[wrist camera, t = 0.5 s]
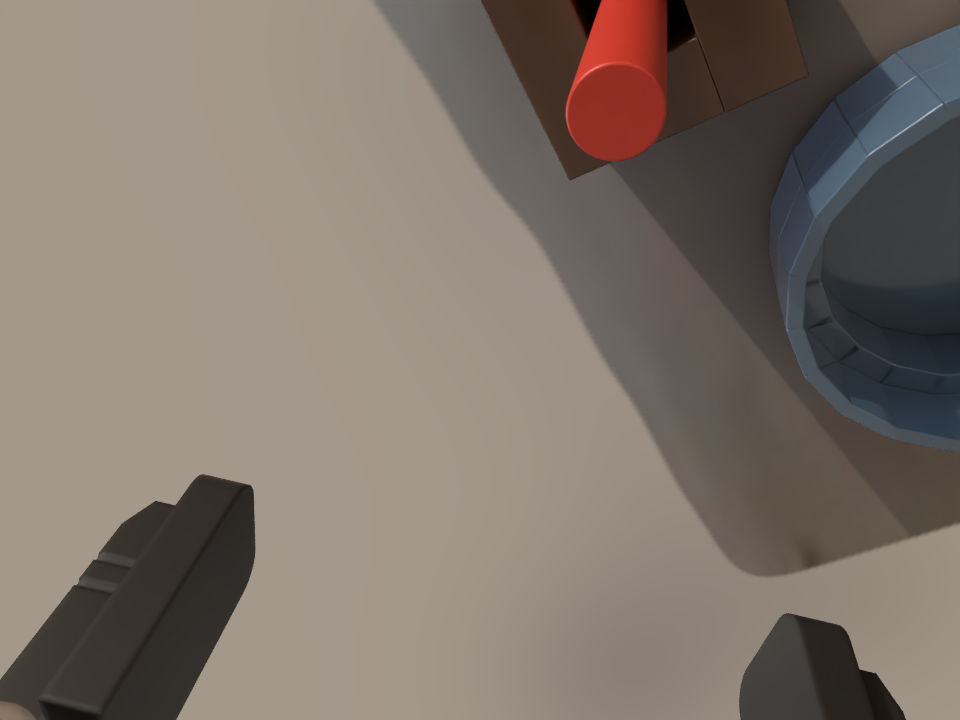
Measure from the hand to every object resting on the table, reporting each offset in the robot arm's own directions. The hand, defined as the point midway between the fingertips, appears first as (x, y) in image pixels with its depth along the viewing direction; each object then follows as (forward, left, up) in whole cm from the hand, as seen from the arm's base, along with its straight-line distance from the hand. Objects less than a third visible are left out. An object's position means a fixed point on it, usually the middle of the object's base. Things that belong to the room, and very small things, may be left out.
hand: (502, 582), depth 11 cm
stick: (-3, -3, -22) cm, 23 cm away
